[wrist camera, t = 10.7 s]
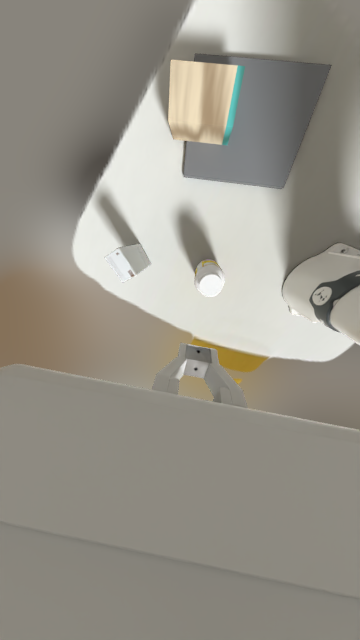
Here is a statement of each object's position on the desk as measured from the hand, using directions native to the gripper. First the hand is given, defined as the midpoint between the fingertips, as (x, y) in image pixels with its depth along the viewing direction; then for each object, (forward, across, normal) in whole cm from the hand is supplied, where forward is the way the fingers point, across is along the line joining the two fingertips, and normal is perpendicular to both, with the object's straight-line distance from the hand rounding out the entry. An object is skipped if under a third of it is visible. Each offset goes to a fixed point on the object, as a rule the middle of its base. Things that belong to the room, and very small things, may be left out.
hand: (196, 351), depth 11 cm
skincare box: (+32, +16, -1) cm, 36 cm away
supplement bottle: (+32, -3, 0) cm, 32 cm away
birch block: (+28, 0, -25) cm, 37 cm away
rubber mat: (+31, -3, -25) cm, 40 cm away
